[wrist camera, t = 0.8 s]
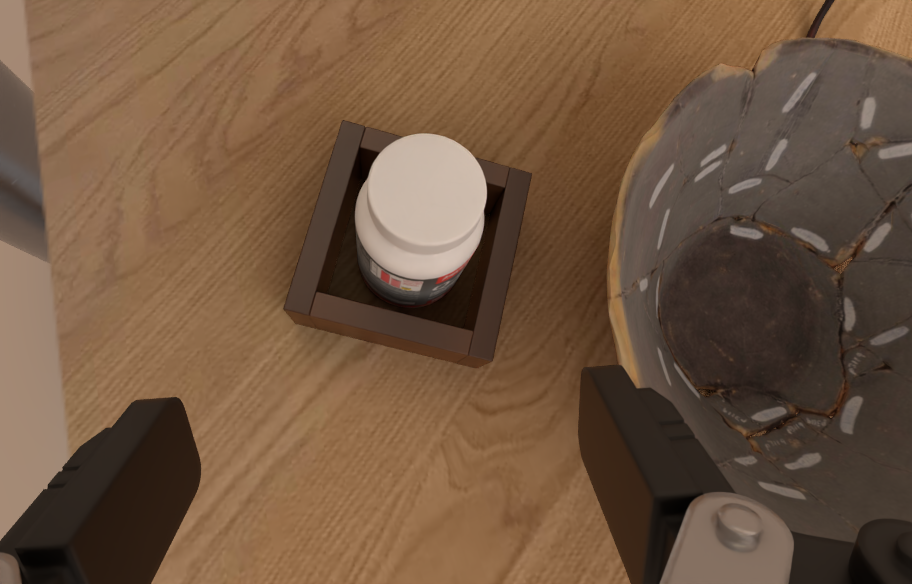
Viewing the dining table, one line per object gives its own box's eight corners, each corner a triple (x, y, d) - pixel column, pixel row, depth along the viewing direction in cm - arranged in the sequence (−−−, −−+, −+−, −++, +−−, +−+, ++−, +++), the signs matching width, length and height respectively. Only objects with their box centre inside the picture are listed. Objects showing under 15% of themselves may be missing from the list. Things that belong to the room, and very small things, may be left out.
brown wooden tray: (294, 323, 29) (282, 309, 25) (345, 155, 32) (342, 119, 28) (477, 368, 30) (492, 361, 26) (513, 201, 33) (532, 173, 29)
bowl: (770, 666, 29) (968, 790, 19) (444, 323, 30) (477, 280, 21) (993, 338, 35) (1225, 309, 26) (715, 68, 37) (837, -56, 27)
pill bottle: (443, 323, 30) (476, 281, 21) (343, 290, 30) (329, 232, 20) (472, 229, 32) (516, 149, 22) (377, 197, 31) (380, 100, 22)
